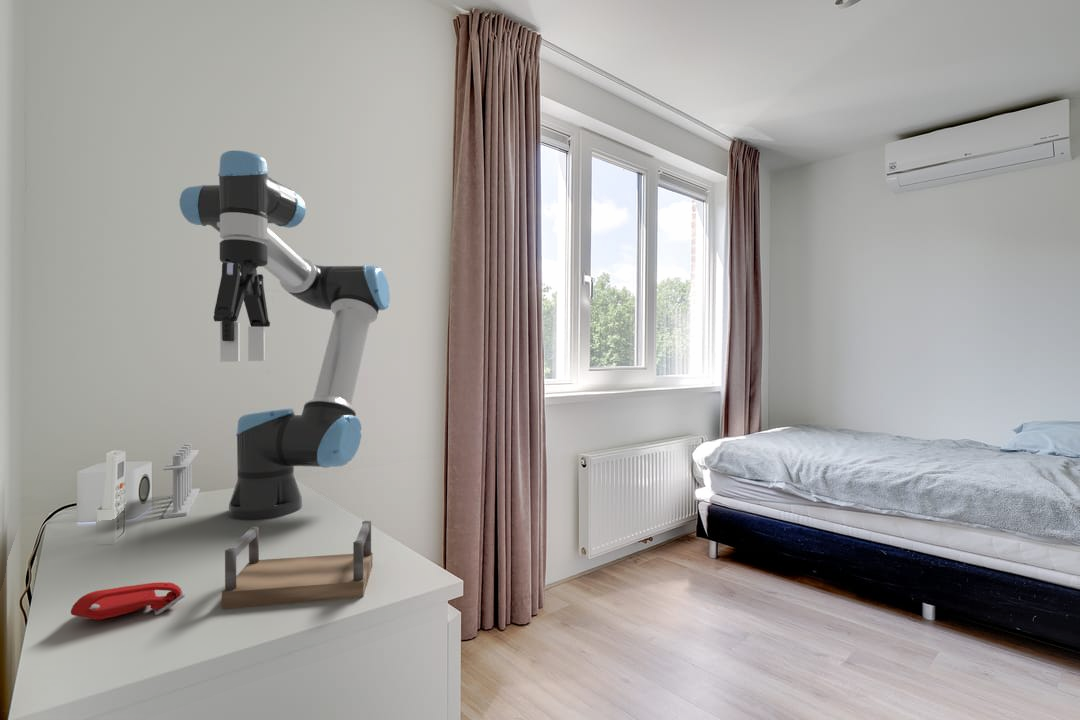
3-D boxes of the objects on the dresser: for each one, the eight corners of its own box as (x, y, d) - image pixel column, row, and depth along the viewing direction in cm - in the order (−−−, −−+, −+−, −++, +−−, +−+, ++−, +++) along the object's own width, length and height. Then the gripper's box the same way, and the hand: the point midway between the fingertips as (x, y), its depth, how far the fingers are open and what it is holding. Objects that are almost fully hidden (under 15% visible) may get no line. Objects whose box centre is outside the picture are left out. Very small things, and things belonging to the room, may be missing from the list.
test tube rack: (186, 516, 121) (186, 457, 121) (163, 518, 119) (162, 458, 119) (199, 491, 144) (199, 441, 144) (179, 493, 142) (179, 442, 142)
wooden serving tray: (250, 575, 88) (250, 526, 88) (372, 567, 91) (372, 519, 91) (222, 609, 76) (221, 553, 76) (363, 598, 80) (363, 544, 80)
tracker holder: (128, 594, 81) (53, 625, 71) (129, 564, 81) (54, 591, 71) (193, 606, 78) (123, 640, 68) (194, 575, 78) (124, 605, 68)
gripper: (245, 254, 108) (245, 360, 108) (189, 224, 84) (190, 361, 84) (285, 255, 110) (285, 360, 110) (242, 226, 85) (242, 361, 85)
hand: (244, 361), depth 97 cm, fingers open, 13 cm apart
